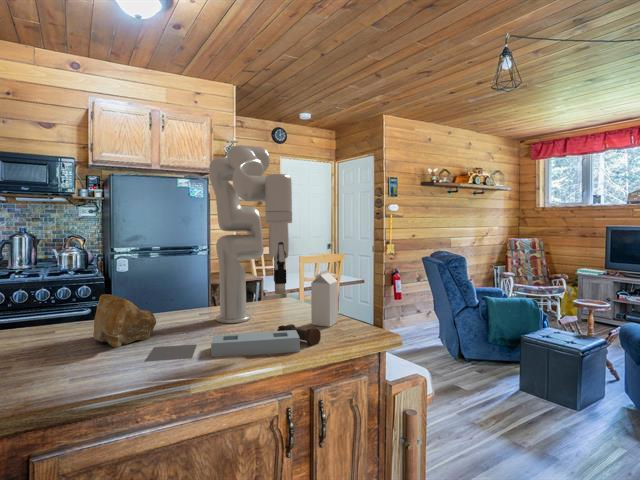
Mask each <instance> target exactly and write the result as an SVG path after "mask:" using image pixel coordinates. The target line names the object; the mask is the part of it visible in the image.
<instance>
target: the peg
mask: <svg viewBox="0 0 640 480" xmlns="http://www.w3.org/2000/svg"><path fill="white" fill-rule="evenodd" d="M275 270H276V266H275V258H274V257H273V275H274V274H275ZM274 294H275V295H284V294H286V284H275V283H274Z"/></svg>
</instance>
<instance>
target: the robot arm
mask: <svg viewBox="0 0 640 480" xmlns="http://www.w3.org/2000/svg"><path fill="white" fill-rule="evenodd" d="M226 154H227V155H226V157H224V156H223V157H216V158H213V159H212V160H211V161H210V162H209V167H208V174H209V175H208V176H209V181H210V184H211V187H212V189H213V192H214V195H215V203H216V213H217V223H218V227H219V229H220V230H221V231H223V232H229V233H230V232H232V233H233V232H234V233H236V232H246V233H247V234H226V235H221V236H220V237H219V238H217V240H216V245H215V247H216V249H215V250H216V255H217V259H218V260H217V261H218V270H219V271H218V272H219V277H218V278H219V311H220V314H219V315H216V317H215V320H216V321H217V322H218V323H221V324H237V323H244V322H246V321H250V320H251V314H250V313H248V312H247V286H246V284H247V283H246V282H247V279H246V278H247V277H246V270H245V268H244V267H243V266H242V264H241V263H240V262H239V261H245V260H247V261H248V260H258V259H260V258H262V256H263V253H264V248H265V247H264V238H263V226H262V225H263V224H262V218H261V215H260V212H259V210H258V209H257V208H256V207H254V206H242V205H241V204H240V199H241V200H242V201H244V202H257V203H258V202H262V203H263V202H264V205H265V207H264V209H265V211H264V212H265V216H264V217H265V224H269V225H268V257H269V258H270V259H271V260H274V258H275V266H276V270H275V274H274V273H273V281H274V285H275V284H285V285H286V284H287V269H286V268H287V267H286V265H287V264H286V263H287V262H286V261H287V260H286V259H287V258H289V247H290V246H289V243H290V241H289V240H290V239H289V224H293V203H292V202H293V200H292V199H293V193H292V192H293V191H292V190H293V188H292V184H293V183H292V177H291V176H290V175H288V174H286V173H270V174H268V175H266V176H265V175H264V174H265V172H266V171H267V170H268V168H269V166H270V162H271V158H270V154H269V152H268V150H266V148H265V147H261V146H254V145H252V146H251V145H243V144H240V145H239V144H237V145H234V146H232V147H231V148H230V149H228V151H227V153H226ZM230 182H232V184H231V183H230Z"/></svg>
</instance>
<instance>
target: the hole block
mask: <svg viewBox="0 0 640 480" xmlns="http://www.w3.org/2000/svg"><path fill="white" fill-rule="evenodd" d="M300 341H301V340H300V337H299V335H298V333H297V331H296V330H287V331H277V330H273V331H259V332H257V331H255V332H244V333H241V332H240V333H239V332H238V333H226V334H213V335H212V338H211V342H210V350H211V351H210V352H211V355H210V356H211V357H212V358H213V357H215V358H216V357H224V356H225V357H226V356H238V355H239V356H240V355H241V356H243V355H245V356H257V355H259V356H261V355H270V354H271V355H272V354H284V353H298V352H299V353H300V351H301V349H300V348H301V347H300V346H301V345H300V343H301V342H300Z"/></svg>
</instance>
